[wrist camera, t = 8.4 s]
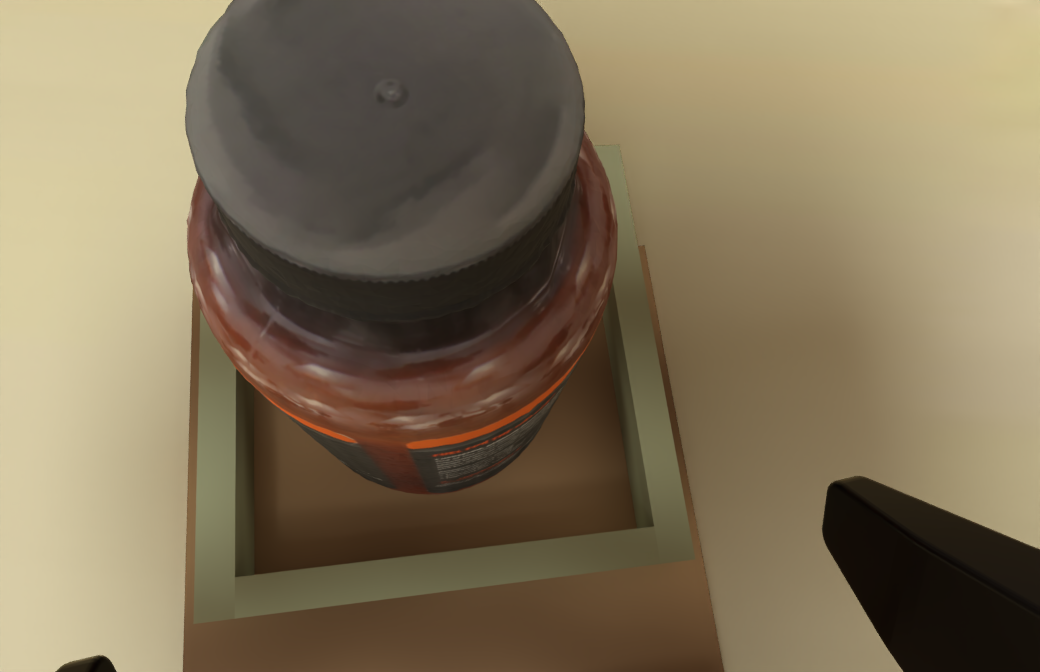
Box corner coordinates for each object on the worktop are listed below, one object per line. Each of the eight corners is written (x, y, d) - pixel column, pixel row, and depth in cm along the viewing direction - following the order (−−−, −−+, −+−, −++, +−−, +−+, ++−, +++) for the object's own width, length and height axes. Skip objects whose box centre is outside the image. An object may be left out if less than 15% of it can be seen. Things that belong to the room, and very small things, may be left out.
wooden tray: (823, 1297, 14) (901, 1453, 11) (183, 1473, 12) (117, 1696, 10) (622, 190, 21) (644, 143, 18) (207, 214, 19) (173, 166, 17)
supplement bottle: (590, 343, 18) (787, 36, 7) (468, 546, 16) (495, 528, 6) (400, 229, 19) (325, -215, 8) (261, 413, 17) (-80, 163, 6)
